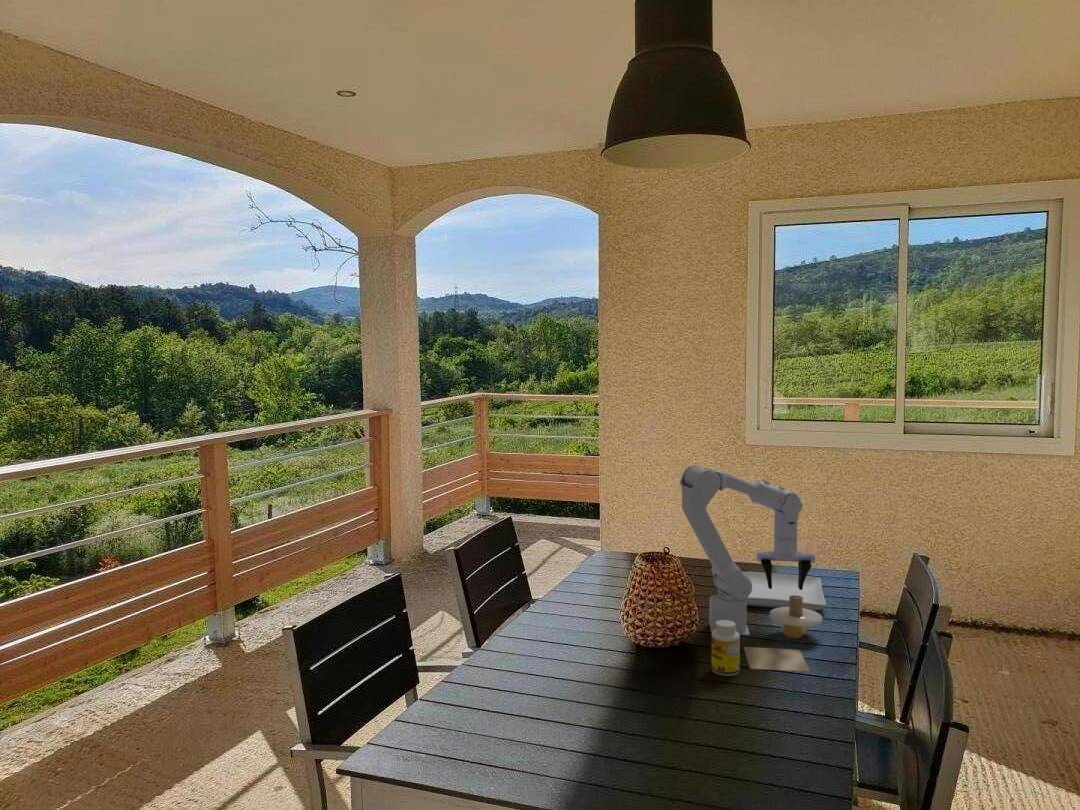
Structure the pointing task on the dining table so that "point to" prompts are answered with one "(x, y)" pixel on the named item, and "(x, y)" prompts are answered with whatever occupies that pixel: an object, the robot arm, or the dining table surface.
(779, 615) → the lid
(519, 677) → the dining table surface
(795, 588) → the square plate
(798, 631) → the cup
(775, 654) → the mat
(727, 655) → the supplement bottle
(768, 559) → the robot arm
